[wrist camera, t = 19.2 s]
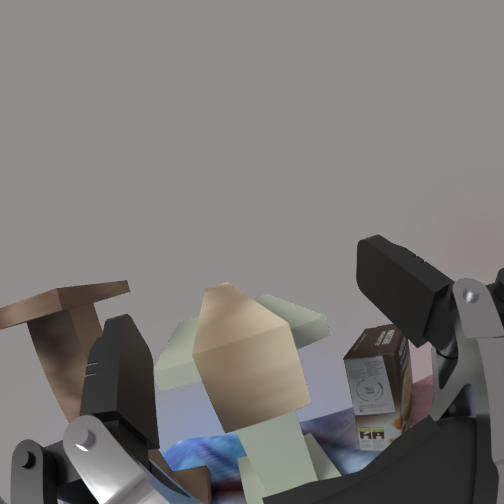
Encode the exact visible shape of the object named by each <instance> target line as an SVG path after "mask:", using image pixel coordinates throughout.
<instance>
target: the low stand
mask: <svg viewBox="0 0 504 504" xmlns="http://www.w3.org/2000/svg"><path fill="white" fill-rule="evenodd" d="M253 300H255V301H256V302H258V303H259V304H261V305H262V306H264V307H265V308H267V309H268V310H270V311H271V312H273V313H274V314H276V315H277V316H279V317H280V318H282V319H283V320H285V321H286V322H288V323H289V326H290V329H291V332H292V336H293V339H294V343H295V346H296V349H299V348H302V347H304V346H307V345H309V344H312V343H314V342H316V341H319V340H321V339H324V338H326V337H328V336H330V331H329V327H328V324H327V320H326V316H325V315H322V314H320V313H317V312H314V311H312V310H309V309H306V308H304V307H301V306H298V305H296V304H293V303H290V302H288V301H285V300H282V299H280V298H277V297H274V296H272V295H269V294H267V295H264V296H261V297H258V298H255V299H253ZM199 317H200V316H198V317H195V318H192V319H188V320H185V321H182V322H179V324H178V325H177V327H176V329H175V331H174V333H173V334H172V336H171V338H170V340H169V341H168V343H167V345H166V347H165V349H164V351H163V352H162V354H161V356H160V358H159V360H158V362H157V364H156V365H155V367H154V377H155V380H156V382H157V384H158V387H159V389H160V391H165V390H169V389H173V388H178V387H181V386H185V385H189V384H193V383H197V382H200V381H202V379H201V377H200V374H199V372H198V369H197V367H196V364H195V362H194V359H193V357H192V351H193V346H194V341H195V336H196V331H197V327H198V322H199ZM235 431H236V433H237V435H238V437H239V439H240V442H241V444H242V446H243V448H244V450H245V452H246V454H247V455H246V456H243V457H239V458H237V461H238V465H239V470H240V475H241V480H242V484H243V489H244V493H245V497H246V502H247V504H264V503H263V500H262V498H263V497H267V496H270V495H274V494H277V493H280V492H283V491H286V490H289V489H292V488H295V487H298V486H300V485H303V484H306V483H308V482H313V481H319V480H324V479H329V478H334V477H338V476H342V475H341V474H340V473H339V471H338V470H337V469H336V467H335V466H334V465H333V463H332V462H331V461H330V459H329V458H328V456H327V455H326V454H325V452H324V451H323V450H322V448H321V447H320V445H319V444H318V443H317V441H316V440H315V438H314V437H313V435H312V434H311V433H309V434H306V435H304V436H303V434H302V431H301V427H300V424H299V421H298V418H297V415H296V412H295V410H294V411H292V412H289V413H287V414H284V415H281V416H278V417H276V418H273V419H270V420H267V421H264V422H261V423H258V424H255V425H252V426H249V427H245V428H242V429H239V430H235Z"/></svg>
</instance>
